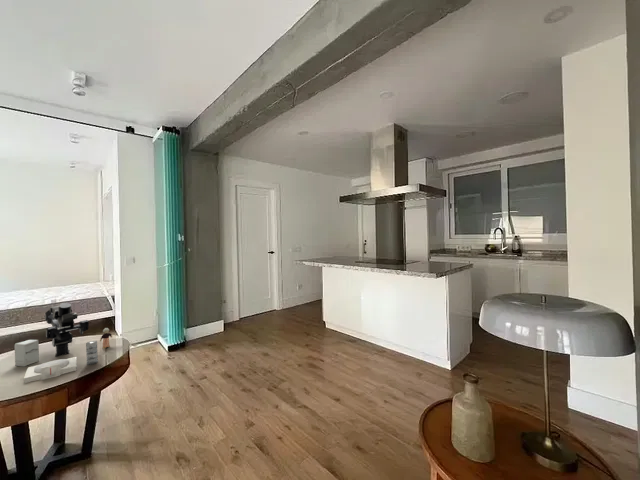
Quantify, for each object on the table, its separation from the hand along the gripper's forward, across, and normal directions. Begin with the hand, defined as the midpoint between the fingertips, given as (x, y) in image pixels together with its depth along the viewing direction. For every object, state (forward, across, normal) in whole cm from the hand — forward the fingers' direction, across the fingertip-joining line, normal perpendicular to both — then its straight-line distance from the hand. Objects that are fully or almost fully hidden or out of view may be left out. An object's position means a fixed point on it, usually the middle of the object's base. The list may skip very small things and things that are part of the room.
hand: (71, 336), depth 163 cm
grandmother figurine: (-8, +20, +20) cm, 30 cm away
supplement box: (-17, -16, +24) cm, 33 cm away
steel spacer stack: (+12, +7, +12) cm, 19 cm away
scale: (+7, -9, +14) cm, 18 cm away
